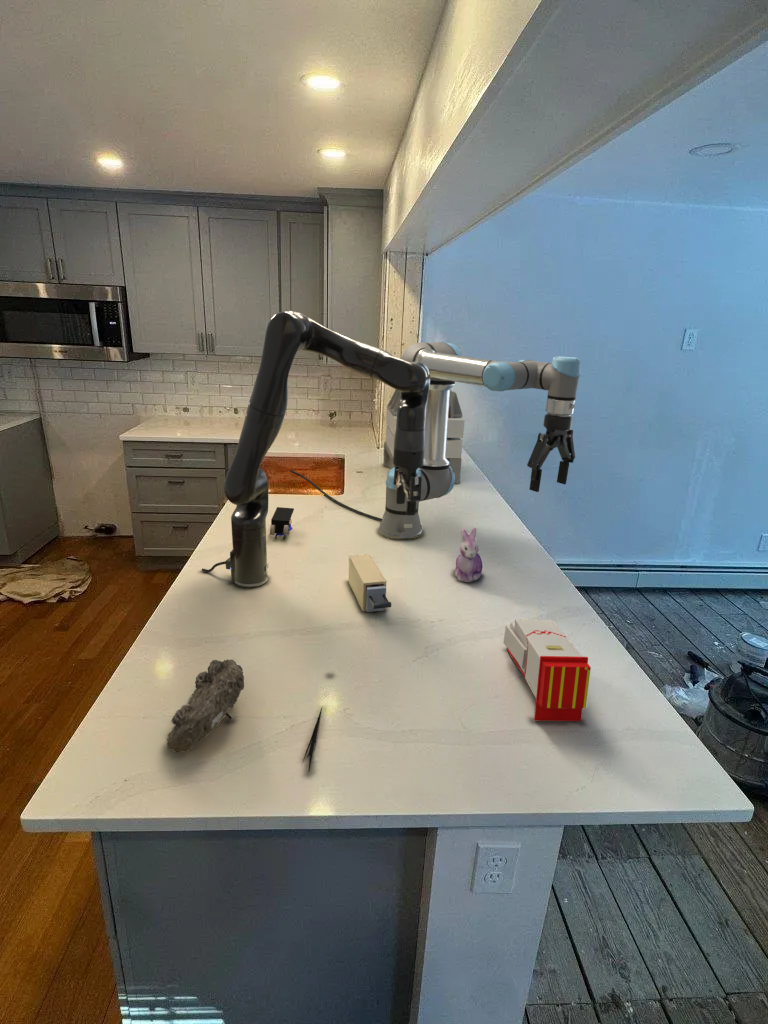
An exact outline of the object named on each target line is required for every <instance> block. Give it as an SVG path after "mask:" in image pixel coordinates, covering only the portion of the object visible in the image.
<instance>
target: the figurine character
mask: <svg viewBox="0 0 768 1024" xmlns="http://www.w3.org/2000/svg"><path fill="white" fill-rule="evenodd" d="M294 511H295V508H294V507H292V508H291V507H280V506H276V508H275V511H274V513H273V515H272V517H271V519H270V526H269V535H270V536H274V537H273V539H274V540H277V539H278V537H282V540H286V537H287V536H288V535H289V534H290V531H292V530H293V527H292V515H293V514H294Z"/></svg>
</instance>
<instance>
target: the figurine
mask: <svg viewBox="0 0 768 1024" xmlns="http://www.w3.org/2000/svg"><path fill="white" fill-rule="evenodd" d="M476 536H477V528H476V527H474V528H472V529H471V531H470V533H469V534H468V532H467V530H466V529H465V528H462V529H461V544H460V546H459V552H460V554H459V555H458V556H457V557H456V560H455V569H454V576H455V577H456V578H457V580H458V581H460V582H465V583H471V582H473V581H477V580H478V579H480V578H481V575H482V572H483V568H484V567H483V560H482V557H481V555H480V554H479V551H480V549H479V545H478V543H477V540H476Z"/></svg>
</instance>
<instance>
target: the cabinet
mask: <svg viewBox="0 0 768 1024" xmlns="http://www.w3.org/2000/svg"><path fill="white" fill-rule="evenodd" d="M347 581H348V584H349V586H350V588H351V590H352V592H353V594H354V596H355V599H356V600H357V603H358V604H359V606H360V609H361V611H362V612H367V611H366V585H376V584H381V586H385V587H386V588H387V580H386V578H385V576H384V575H383V573H382V571H381V570H380V568H379V567H378V565H377V564H376V562H375V560H374V559H373V557H372V555H371V554H370V553H367V554H355V555H348V579H347Z"/></svg>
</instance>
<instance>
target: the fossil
mask: <svg viewBox="0 0 768 1024" xmlns="http://www.w3.org/2000/svg"><path fill="white" fill-rule="evenodd" d="M243 670H244V669H243V667H242V665H240V664H237V662H236V661H235V660H234V659H232V658H231V659H227V658H226V659H224V660H223V661H222V660H217V659H212V660H211V661H210V663H209V665H208V666H207V671H201V672H199V673H198V674H197V675H196V676H195V680H194V684H195V685H194V687H195V689H194V690H193V693H192V694H191V697H190V698H189V700H188V704H184V705H182V706H181V707H180V709H177V710H176V711H175V713H174V715H173V716H172V718H171V723H172V724H173V727H172V730H171V731H170V732H168V734H167V738H166V741H167V742H166V745H167V749H168V750H169V751H173V752H174V753H176V754H178V753H182V752H188V751H189V752H192V751H193V750H195V748H196V747H197V746H199V744H200V743H201V742H203V741H204V740H205V739H206V738H207V737H208V736H209V735H210V734H211V733H212V732H214V730H215V729H217V727H218V726H219V724H220V722H221V721H222V720H223V719H224V718H225V716H226V717H227V719H229V720H233V717H232V715H230V714H229V710H230V709H231V708H234V706H235V704H236V703H237V702H238V699H239V697H240V695H241V693H242V691H243V690H245V689H244V688H245V675H244V671H243Z"/></svg>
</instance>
